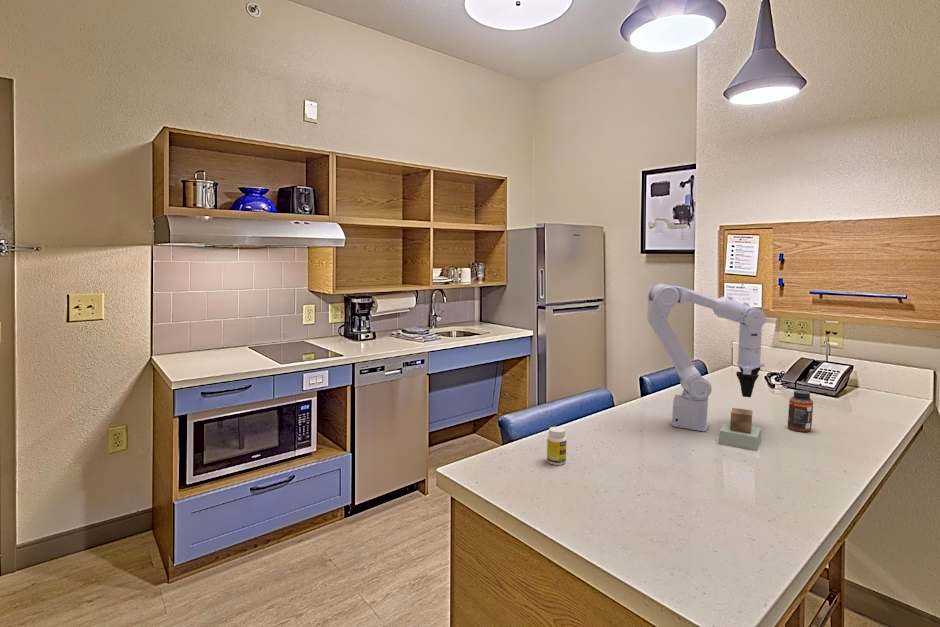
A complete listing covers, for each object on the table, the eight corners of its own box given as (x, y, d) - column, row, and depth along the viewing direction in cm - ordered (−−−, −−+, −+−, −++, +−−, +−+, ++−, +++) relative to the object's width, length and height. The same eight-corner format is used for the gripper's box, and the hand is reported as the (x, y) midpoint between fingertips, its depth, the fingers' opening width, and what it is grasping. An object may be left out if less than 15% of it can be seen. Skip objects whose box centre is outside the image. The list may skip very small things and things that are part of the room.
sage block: (718, 444, 144) (719, 430, 144) (724, 434, 152) (725, 421, 151) (755, 452, 139) (756, 437, 139) (760, 441, 146) (761, 427, 146)
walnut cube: (729, 430, 144) (731, 412, 143) (731, 425, 148) (732, 407, 147) (750, 433, 141) (751, 415, 141) (751, 428, 146) (752, 410, 145)
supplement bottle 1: (561, 467, 129) (562, 433, 128) (543, 462, 132) (544, 430, 131) (568, 460, 133) (569, 428, 132) (551, 456, 136) (552, 424, 135)
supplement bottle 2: (814, 433, 152) (818, 394, 150) (791, 431, 153) (794, 393, 151) (806, 426, 157) (809, 389, 156) (784, 425, 159) (786, 388, 157)
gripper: (764, 353, 145) (762, 401, 147) (766, 344, 157) (764, 389, 159) (735, 351, 149) (733, 398, 150) (740, 342, 161) (738, 386, 163)
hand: (747, 393), depth 155 cm, fingers open, 7 cm apart
